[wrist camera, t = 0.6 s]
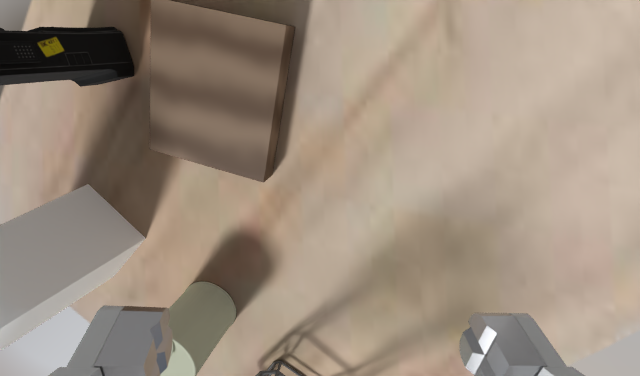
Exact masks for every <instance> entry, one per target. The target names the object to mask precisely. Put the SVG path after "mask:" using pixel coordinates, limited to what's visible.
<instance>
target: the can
mask: <svg viewBox="0 0 640 376" xmlns="http://www.w3.org/2000/svg"><path fill="white" fill-rule="evenodd" d="M169 313H170V320H169V323H168V326H169V327H170V328H171V329H172V335H173V342H172V350H171V356H170V360H169V363H168V367H167V369H165V370H164V371H163V372H162V373H161V374H160V376H196V375H197V373H198V372H199V370H200V369H201V367H202V366H203V364H204V363H205V361H206V360H207V358H208V357H209V355H210V354H211V352H212V351H213V349H214V348H215V347H216V345H217V344H218V342H219V341H220V339H221V338H222V336H223V335H224V334H225V332H226V331H227V329H228V328H229V327H230V326H231V325H232V324H233V323H234V321H235V318H236V307H235V304H234V302H233V300H232V298H231V297H230V296H229V294H228V293H227V292H226V291H225V290H223V289H222V288H221V287H219V286H217V285H215V284H213V283H210V282H203V281H202V282H196V283H193V284H191V285H190V286H189V287H188V288H187V289H186V291H185V292H184V293H183V294H182V295H181V296H180V298H179V299H178V300H177V301H176V302H175V303H174V304H173V305H172V306H171V307H170V308H169Z"/></svg>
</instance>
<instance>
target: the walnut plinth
mask: <svg viewBox="0 0 640 376" xmlns="http://www.w3.org/2000/svg"><path fill="white" fill-rule="evenodd" d="M294 31H295V27H293V26H289V25H284V24H279V23H275V22H270V21H265V20H260V19H256V18H251V17H246V16H242V15H237V14H232V13H228V12H223V11H218V10H214V9H209V8H204V7H200V6H195V5H190V4H186V3H181V2H176V1H172V0H151V49H150V150H153V151H157V152H160V153H164V154H167V155H171V156H174V157H177V158H181V159H184V160H188V161H191V162H195V163H198V164H202V165H205V166H209V167H212V168H215V169H219V170H222V171H226V172H229V173H233V174H236V175H240V176H243V177H247V178H250V179H253V180H257V181H260V182H265V181H266V180H267V179H268V178H269V177H271V176H272V175H273V168H274V162H275V155H276V148H277V142H278V135H279V129H280V122H281V116H282V109H283V103H284V96H285V90H286V83H287V77H288V70H289V64H290V57H291V50H292V44H293V37H294Z"/></svg>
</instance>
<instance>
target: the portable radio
mask: <svg viewBox="0 0 640 376" xmlns="http://www.w3.org/2000/svg"><path fill="white" fill-rule="evenodd" d="M132 76H134V68H133V64H132V60H131V57H130V54H129V51H128V48H127V45H126V42H125V39H124V36H123V33H122V32H121V31H117V29H116V28H114V27H101V28H63V27H39V28H36V29H32V30H29V31H5V30H4V29H2V28H0V85H9V84H21V83H33V82H44V81H57V80H72V81H74V82H76V83H77V84H78V85H79V86H89V85H98V84H103V83H107V82H111V81H116V80H120V79H124V78H128V77H132Z"/></svg>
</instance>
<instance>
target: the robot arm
mask: <svg viewBox="0 0 640 376" xmlns="http://www.w3.org/2000/svg"><path fill="white" fill-rule="evenodd" d="M169 320H170V313H169V308H158V307H135V306H103V307H102V308H100V309H99V310H98V311H97V313H96V315H95V317H94V318H93V320H92V322H91V324H90V326H89V327H88V329H87V331H86V333H85V335H84V337H83V338H82V340H81V342H80V344H79V345H78V347H77V349H76V351H75V353H74V354H73V356H72V358H71V360H70V362H69V363H68V365H67V367H60V368H58V369H57V370H55V371H54V372H53V373H51V374H50V375H49V376H160V374H161V373H162V372H163V371H164V370H165V369H167V367H168V363H169V360H170V356H171V350H172V342H173V335H172V329H171V328H170V327H169V326H168V323H169ZM468 322H469V324H470V326H471V327H470V328H469V329H467V330H466V331H464V332H463V334H462V336H461V339H460V354H461V358H462V361H463V363H464V365H465V367H466V368H467V369H468V370H469V371H470V372H471V373H472V374H473V375H474V376H584V375H583V374H582V373H580V372H579V371H577V370H576V369H574V368H573V367H567V366H566V364H565V363H564V362H563V360H562V359H561V357H560V356H559V355H558V353H557V352H556V350H555V349H554V347H553V346H552V345H551V343H550V342H549V340H548V339H547V338H546V336H545V335H544V333H543V332H542V331H541V329H540V328H539V326H538V325H537V323H536V322H535V321H534V319H533V318H532V317H531V316H530V315H528V314H523V313H474V314H473V315H471V317H470V319H469V321H468Z"/></svg>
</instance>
